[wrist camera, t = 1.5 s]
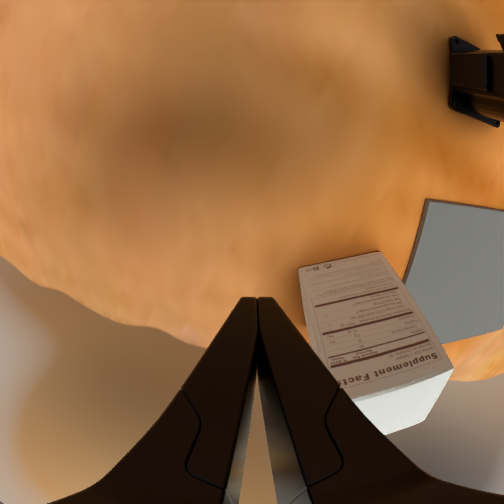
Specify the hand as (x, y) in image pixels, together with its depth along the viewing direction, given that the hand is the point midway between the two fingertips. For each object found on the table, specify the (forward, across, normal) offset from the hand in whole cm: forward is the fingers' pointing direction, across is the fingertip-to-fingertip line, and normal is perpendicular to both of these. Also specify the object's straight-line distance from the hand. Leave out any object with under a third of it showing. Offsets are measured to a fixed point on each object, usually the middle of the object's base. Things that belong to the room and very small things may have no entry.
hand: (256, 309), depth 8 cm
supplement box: (+13, -8, +10) cm, 18 cm away
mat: (+13, -26, +10) cm, 31 cm away
